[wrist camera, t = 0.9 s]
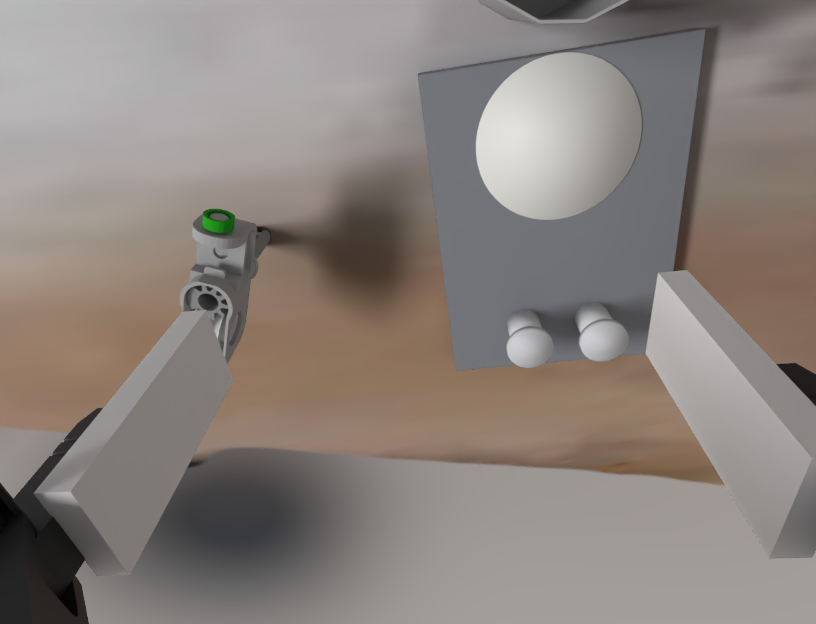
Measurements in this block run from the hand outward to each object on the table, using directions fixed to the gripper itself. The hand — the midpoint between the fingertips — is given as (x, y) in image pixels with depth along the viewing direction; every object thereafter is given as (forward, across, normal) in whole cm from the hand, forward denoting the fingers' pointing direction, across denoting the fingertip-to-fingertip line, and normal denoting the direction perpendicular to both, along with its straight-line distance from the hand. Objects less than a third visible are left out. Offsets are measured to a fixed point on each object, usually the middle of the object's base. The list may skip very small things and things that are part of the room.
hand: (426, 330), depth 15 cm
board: (+21, +8, -6) cm, 23 cm away
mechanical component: (+21, -13, -5) cm, 25 cm away
